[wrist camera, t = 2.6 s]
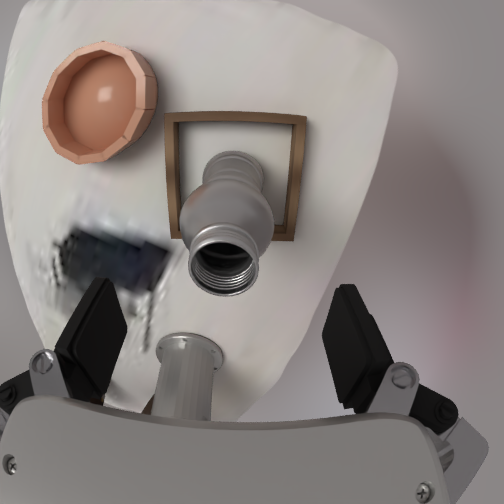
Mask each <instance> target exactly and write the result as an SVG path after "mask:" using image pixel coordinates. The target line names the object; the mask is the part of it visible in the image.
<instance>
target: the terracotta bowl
mask: <svg viewBox="0 0 504 504" xmlns="http://www.w3.org/2000/svg"><path fill="white" fill-rule="evenodd" d="M42 100H43V101H42V119H43V129H44V132H45V134H46V136H47V138H48V140H49V141H50V143H51V145H52V147H53V149H54V150H55V152H56V153H57V154H59V155H61V156H63V157H65V158H67V159H68V160H70V161H72V162H74V163H76V164H78V165H79V164H86V163H94V162H103V161H106V160H108V159H110V158H112V157H114V156H116V155H118V154H119V153H120V152H122V151H123V150H124V149H126V148H128V147H129V146H131V145H132V144H133V143H134V142H136V141H137V140H138V139H139V138H140V137H141V136H142V135H143V133H144V132H145V131H146V129H147V128H148V126H149V124H150V123H151V120H152V118H153V116H154V113H155V110H156V106H157V100H158V85H157V80H156V77H155V74H154V71H153V69H152V67H151V66H150V65H149V63H148V62H147V61H146V60H145V59H144V58H143V56H142V55H141V54H139V53H137V52H134V51H132V50H130V49H127V48H124V47H121V46H118V45H115V44H112V43H109V42H106V41H101V42H98V43H94V44H91V45H88V46H84V47H81V48H78V49H76V50H75V51H74V52H72V53H71V54H70V55H69V56H68V57H67V58H66V59H65V60H64V61H63V62H62V63H61V64H60V65H59V66H58V67H57V68H56V69H55V70H54V72H53V74H52V76H51V78H50V81H49V83H48V86H47V88H46V91H45V94H44V96H43V99H42Z"/></svg>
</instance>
